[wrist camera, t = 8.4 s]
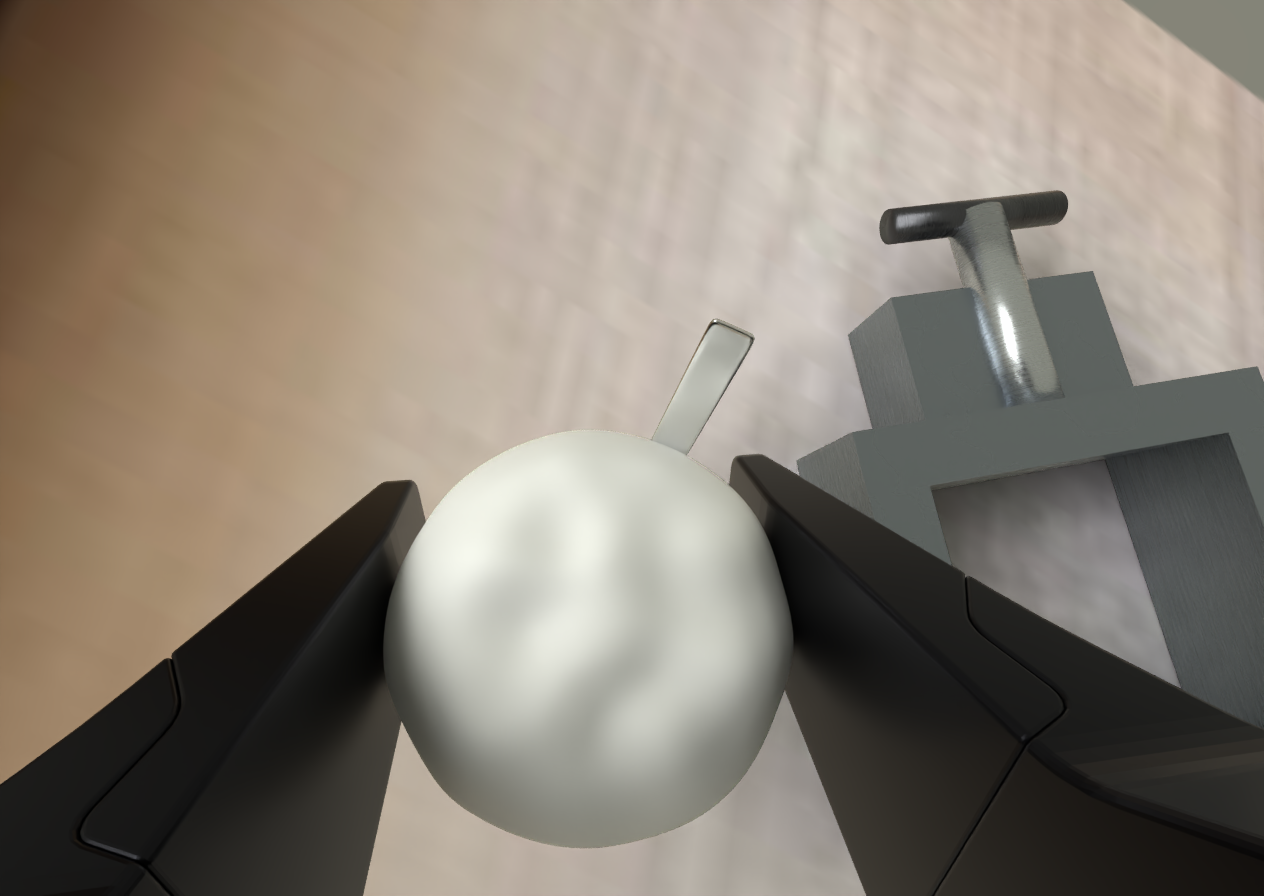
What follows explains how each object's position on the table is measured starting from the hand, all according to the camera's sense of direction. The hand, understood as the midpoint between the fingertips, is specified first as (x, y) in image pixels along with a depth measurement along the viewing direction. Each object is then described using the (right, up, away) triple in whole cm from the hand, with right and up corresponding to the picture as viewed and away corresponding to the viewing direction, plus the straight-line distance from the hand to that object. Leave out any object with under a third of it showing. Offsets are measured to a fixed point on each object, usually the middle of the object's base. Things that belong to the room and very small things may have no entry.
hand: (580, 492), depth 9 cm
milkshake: (0, -3, +6) cm, 7 cm away
